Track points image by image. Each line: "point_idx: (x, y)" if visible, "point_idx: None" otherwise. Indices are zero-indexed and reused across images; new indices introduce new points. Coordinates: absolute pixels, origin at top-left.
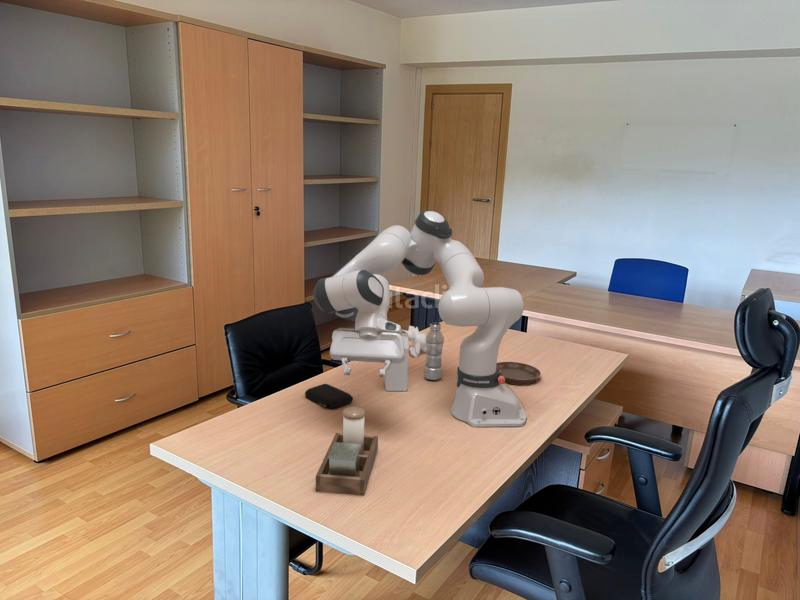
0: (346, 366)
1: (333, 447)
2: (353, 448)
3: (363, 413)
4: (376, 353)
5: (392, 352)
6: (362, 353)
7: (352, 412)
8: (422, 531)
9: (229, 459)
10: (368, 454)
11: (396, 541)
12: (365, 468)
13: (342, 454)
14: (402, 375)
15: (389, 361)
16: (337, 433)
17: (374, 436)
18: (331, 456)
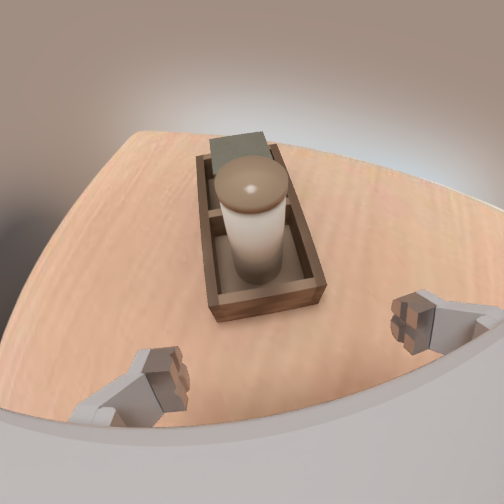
0: (440, 305)
1: (266, 150)
2: (224, 157)
3: (216, 178)
4: (195, 462)
5: (8, 453)
6: (410, 392)
7: (253, 172)
8: (125, 164)
9: (447, 213)
10: (208, 220)
11: (152, 144)
12: (201, 180)
13: (238, 139)
14: None
15: (76, 416)
16: (321, 282)
17: (217, 301)
18: (256, 133)
